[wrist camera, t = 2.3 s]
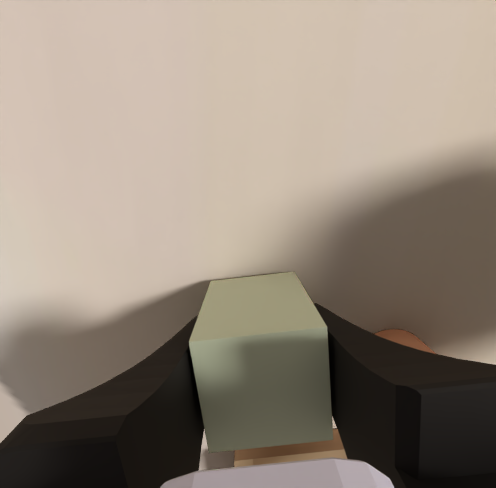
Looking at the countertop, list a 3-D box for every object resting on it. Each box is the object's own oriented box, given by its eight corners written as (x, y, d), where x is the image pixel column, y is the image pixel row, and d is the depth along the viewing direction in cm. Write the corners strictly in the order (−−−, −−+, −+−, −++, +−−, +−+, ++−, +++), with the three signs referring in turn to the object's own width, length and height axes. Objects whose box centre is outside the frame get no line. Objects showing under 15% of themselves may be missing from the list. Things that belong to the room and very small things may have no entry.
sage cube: (294, 271, 12) (327, 327, 7) (300, 345, 13) (333, 440, 8) (210, 281, 12) (188, 342, 7) (221, 354, 13) (209, 452, 8)
